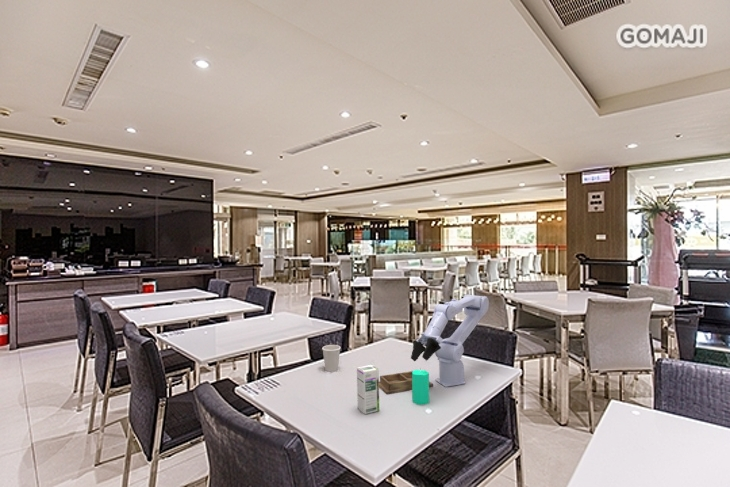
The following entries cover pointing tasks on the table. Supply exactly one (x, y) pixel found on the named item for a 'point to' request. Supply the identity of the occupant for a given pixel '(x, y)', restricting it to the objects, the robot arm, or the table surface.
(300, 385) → the table surface
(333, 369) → the dixie cup
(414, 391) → the candle
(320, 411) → the table surface
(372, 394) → the syrup box
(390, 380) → the divided wooden tray
